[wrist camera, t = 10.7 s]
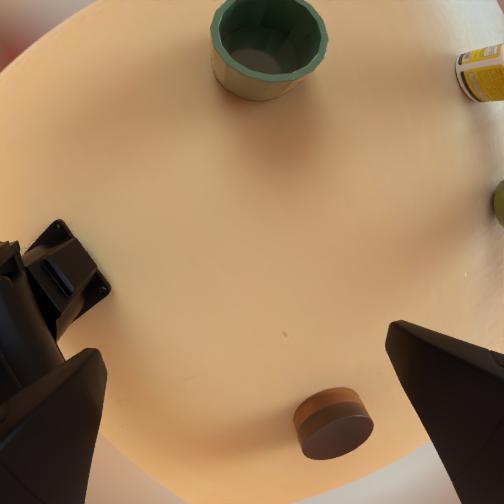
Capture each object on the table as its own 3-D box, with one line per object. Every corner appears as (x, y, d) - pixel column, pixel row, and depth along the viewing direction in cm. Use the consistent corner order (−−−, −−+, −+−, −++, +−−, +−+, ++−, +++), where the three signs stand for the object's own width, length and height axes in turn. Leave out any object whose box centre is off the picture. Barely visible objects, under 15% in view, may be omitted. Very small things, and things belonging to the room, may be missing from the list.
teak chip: (310, 440, 27) (315, 453, 25) (280, 412, 25) (284, 427, 23) (367, 409, 27) (374, 421, 25) (345, 375, 25) (353, 389, 23)
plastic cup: (243, 117, 17) (253, 102, 12) (195, 49, 15) (188, 15, 11) (317, 77, 17) (348, 55, 12) (270, 12, 15) (286, -24, 10)
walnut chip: (315, 453, 25) (319, 467, 23) (284, 427, 23) (288, 443, 21) (373, 421, 25) (381, 434, 23) (353, 389, 23) (361, 404, 21)
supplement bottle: (486, 108, 18) (554, 108, 10) (455, 93, 18) (529, 85, 10) (482, 64, 17) (546, 56, 9) (451, 46, 16) (518, 28, 8)
